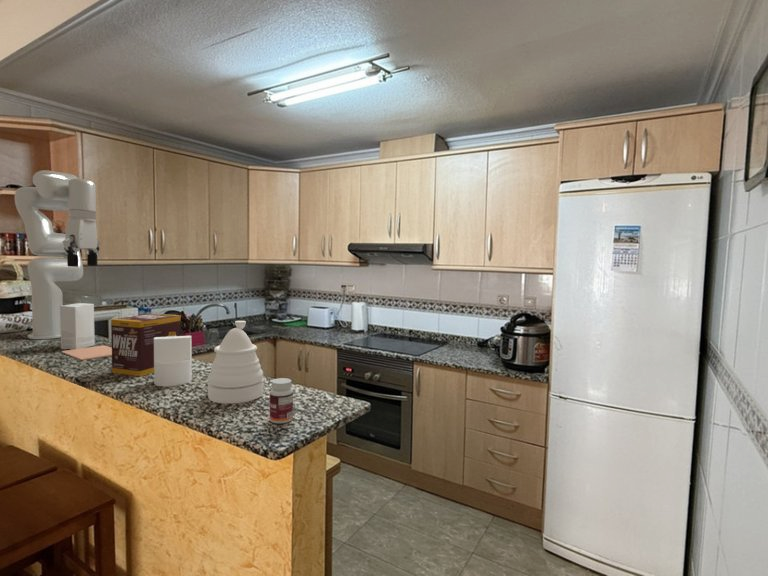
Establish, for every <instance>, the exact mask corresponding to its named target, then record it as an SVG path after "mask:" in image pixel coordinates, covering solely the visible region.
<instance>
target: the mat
mask: <svg viewBox="0 0 768 576" xmlns="http://www.w3.org/2000/svg"><path fill="white" fill-rule="evenodd" d="M60 352H61V354H64V353H65V354H64V355H67V356H69V355H70V357H73V358H74V357H75V358H74V359H76V360H79V361H86V360H91V359H92V360H93V359H98V358H99V359H100V358H104V357H112V346H111V347H110V346H108V345H96V346H90V347H86V348H81V349H74V350H61V351H60Z"/></svg>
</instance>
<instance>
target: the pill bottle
mask: <svg viewBox="0 0 768 576" xmlns="http://www.w3.org/2000/svg"><path fill="white" fill-rule="evenodd" d="M293 412H294V390H293V388H292V379H290V378H288V377H287V378H286V377H279V378H278V377H277V378H275V379H272V380H271V389H270V391H269V421H270V422H271V423H273V424H288V423H289V422H291V421H292V420H293V418H294V416H293V415H294V413H293Z"/></svg>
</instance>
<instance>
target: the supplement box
mask: <svg viewBox="0 0 768 576" xmlns="http://www.w3.org/2000/svg"><path fill="white" fill-rule="evenodd" d="M181 320H182V317H181V315H179V314H169V313H167V314H166V313H155V312H154V313H147V314H140V315H133V316H126V317H118V318H111V319H110V324H111V325H110V329H111V337H110V338H111V348H112V356H111V373H112V374H118V375H126V376H133V377H143V376H146V375H150V374H154V338H155V337H172V336H182V334H181V333H182V332H181V329H182V328H181V327H182V326H181V325H182V324H181Z"/></svg>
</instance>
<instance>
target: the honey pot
mask: <svg viewBox="0 0 768 576" xmlns="http://www.w3.org/2000/svg"><path fill="white" fill-rule="evenodd" d="M246 324H247V321H246V320H235V321H234V325H235V326H236V327H234V328H231V329H230V330H228V332H227V333H226V335H225V336H224V338H223V339H222V341H221V342H220V345H217V346H215V347H214V349H213V351H214V353H216V355H215V358H214V360H213V361H212V366H211V367H210V372H209V373H208V375H207V398H208V399H209V400H210V401H211V402H213V403H214V402H215V403H218V404H219V403H220V404H239V403H240V404H241V403H246V402H251V401H254V400H256V399H258V398H261V397H262V396H263V394H264V370H263V369H262V367H261V363H260V358H259V357H258V356H257V353H256V351H257V350H258V347H257V345H255V344H253V343H252V341H251V339H250V338H249V336H248V335H247V333H246V332H245V331H244V330H243V329H245V327H246Z"/></svg>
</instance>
